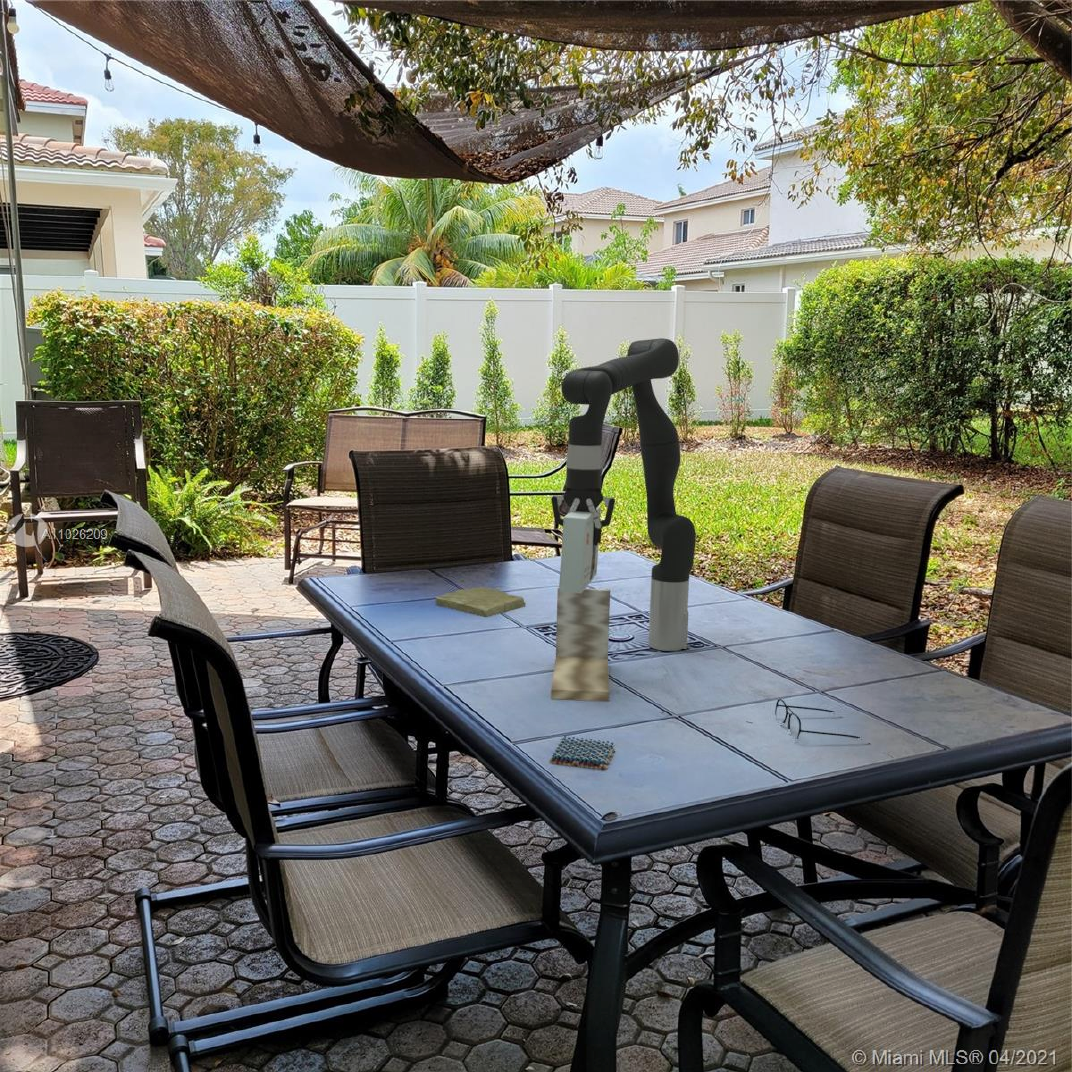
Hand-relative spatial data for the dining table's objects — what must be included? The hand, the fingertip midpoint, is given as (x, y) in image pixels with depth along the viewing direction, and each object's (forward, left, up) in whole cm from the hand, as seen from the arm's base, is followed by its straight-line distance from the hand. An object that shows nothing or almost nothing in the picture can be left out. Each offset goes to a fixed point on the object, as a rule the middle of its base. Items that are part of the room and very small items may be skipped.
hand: (581, 544), depth 212 cm
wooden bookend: (-1, 0, -30) cm, 30 cm away
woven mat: (-2, +42, -31) cm, 53 cm away
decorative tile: (+28, -65, -31) cm, 77 cm away
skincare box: (0, 0, -9) cm, 9 cm away
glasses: (-48, +24, -31) cm, 62 cm away
